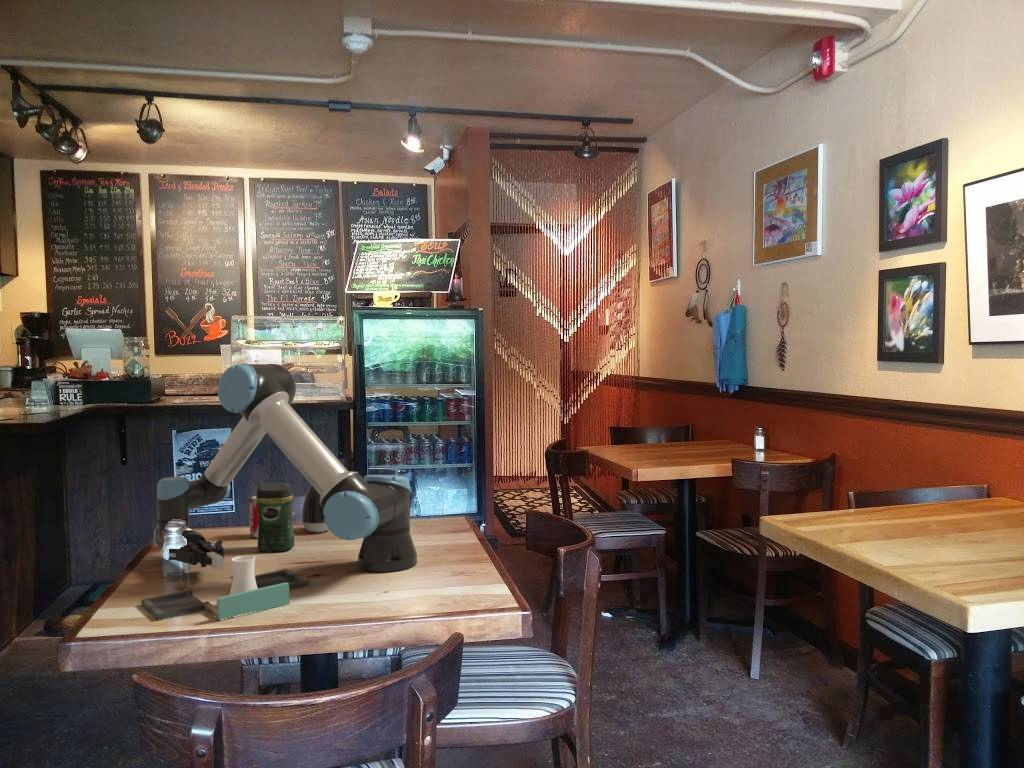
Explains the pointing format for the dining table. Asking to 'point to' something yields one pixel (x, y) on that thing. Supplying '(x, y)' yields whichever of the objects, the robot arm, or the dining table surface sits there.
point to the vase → (243, 574)
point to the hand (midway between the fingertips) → (220, 563)
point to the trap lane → (189, 603)
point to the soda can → (254, 517)
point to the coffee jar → (275, 517)
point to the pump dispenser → (313, 512)
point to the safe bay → (252, 600)
